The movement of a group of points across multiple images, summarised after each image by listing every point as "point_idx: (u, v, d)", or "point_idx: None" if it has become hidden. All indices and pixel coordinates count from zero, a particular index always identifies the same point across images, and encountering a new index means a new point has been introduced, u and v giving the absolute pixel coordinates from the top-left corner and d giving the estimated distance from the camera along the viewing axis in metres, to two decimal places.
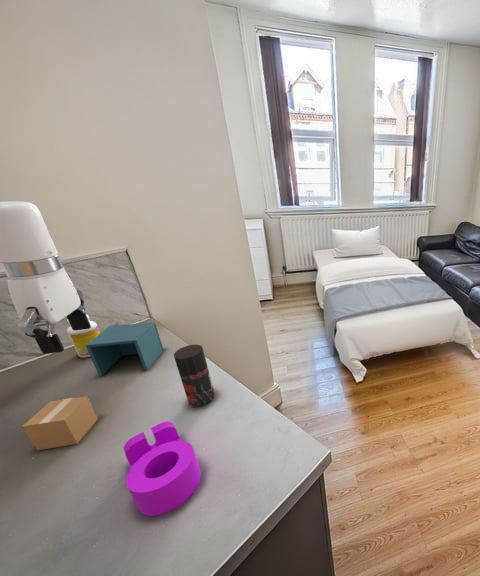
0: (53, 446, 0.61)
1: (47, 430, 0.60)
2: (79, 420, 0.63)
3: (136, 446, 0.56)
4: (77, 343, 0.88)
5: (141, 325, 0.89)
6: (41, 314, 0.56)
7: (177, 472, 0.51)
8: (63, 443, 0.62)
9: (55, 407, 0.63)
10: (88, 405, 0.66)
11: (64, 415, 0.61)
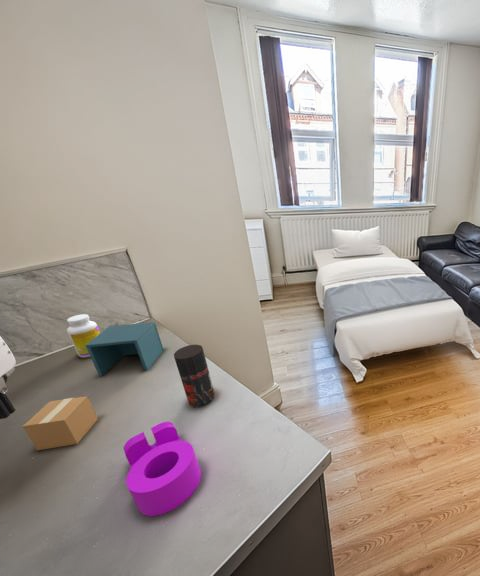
0: (53, 446, 0.61)
1: (47, 430, 0.60)
2: (79, 420, 0.63)
3: (136, 446, 0.56)
4: (77, 343, 0.88)
5: (141, 325, 0.89)
6: None
7: (177, 472, 0.51)
8: (63, 443, 0.62)
9: (55, 407, 0.63)
10: (88, 405, 0.66)
11: (64, 415, 0.61)
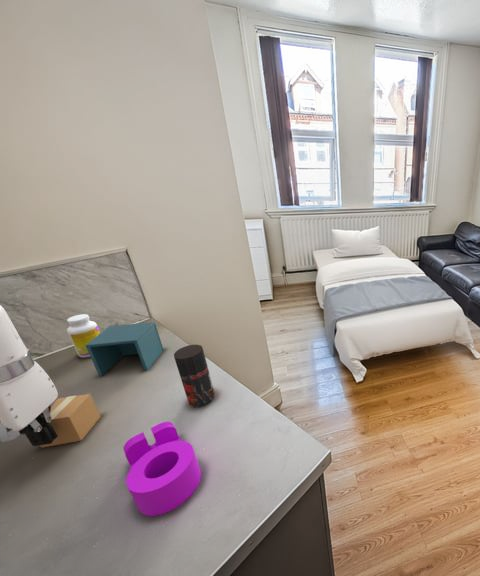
0: (57, 443, 0.62)
1: None
2: (83, 417, 0.64)
3: (136, 446, 0.56)
4: (77, 343, 0.88)
5: (141, 325, 0.89)
6: (4, 424, 0.51)
7: (177, 472, 0.51)
8: (67, 440, 0.62)
9: (59, 405, 0.63)
10: (91, 403, 0.67)
11: (68, 412, 0.62)
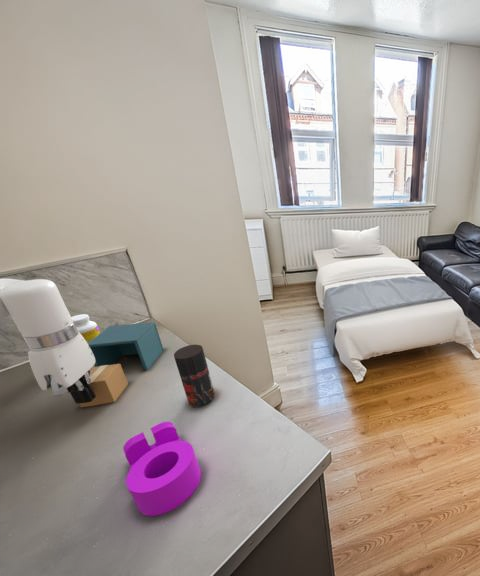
0: (94, 404, 0.72)
1: None
2: (115, 382, 0.75)
3: (136, 446, 0.56)
4: None
5: (141, 325, 0.89)
6: (56, 380, 0.61)
7: (177, 472, 0.51)
8: (103, 401, 0.73)
9: (95, 372, 0.74)
10: (121, 371, 0.77)
11: (103, 377, 0.72)
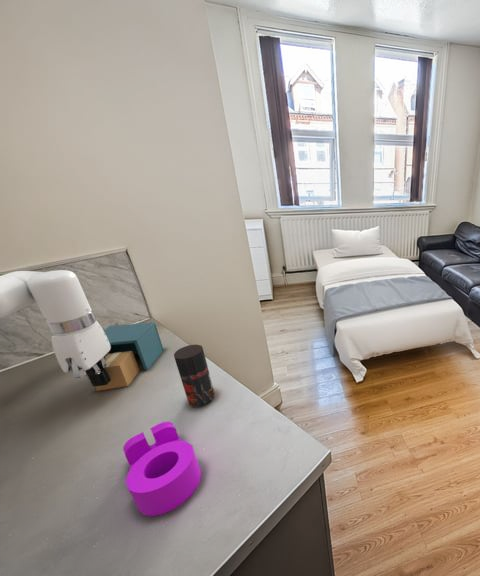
0: (109, 387, 0.78)
1: None
2: (128, 368, 0.80)
3: (136, 446, 0.56)
4: None
5: (141, 325, 0.89)
6: (77, 363, 0.66)
7: (177, 472, 0.51)
8: (117, 385, 0.78)
9: (109, 358, 0.79)
10: (133, 358, 0.83)
11: (118, 362, 0.77)
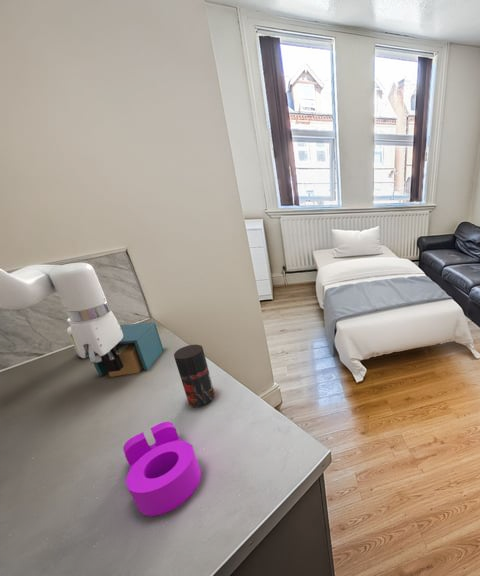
0: (121, 374, 0.83)
1: None
2: None
3: (136, 446, 0.56)
4: None
5: (141, 325, 0.89)
6: (93, 349, 0.72)
7: (177, 472, 0.51)
8: (129, 371, 0.83)
9: (122, 346, 0.84)
10: None
11: (130, 350, 0.83)
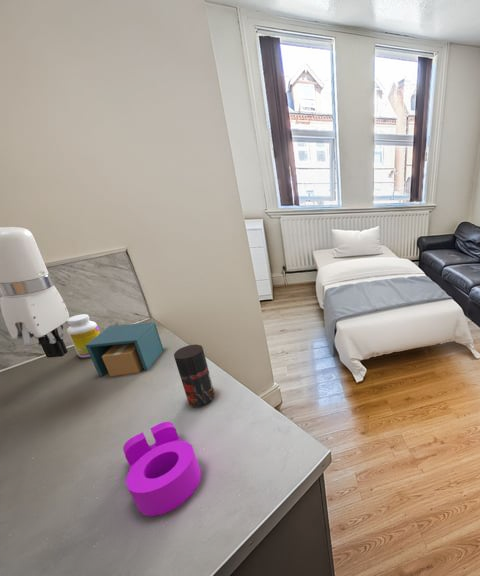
0: (121, 373, 0.83)
1: (118, 361, 0.82)
2: None
3: (136, 446, 0.56)
4: (77, 343, 0.88)
5: (141, 325, 0.89)
6: (28, 329, 0.61)
7: (177, 472, 0.51)
8: (129, 371, 0.83)
9: (122, 346, 0.84)
10: None
11: (129, 350, 0.83)
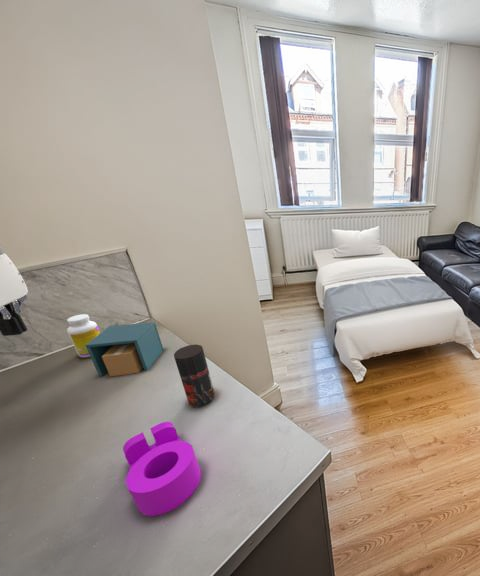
0: (121, 373, 0.83)
1: (118, 361, 0.82)
2: None
3: (135, 446, 0.56)
4: (77, 343, 0.88)
5: (141, 325, 0.89)
6: None
7: (177, 472, 0.51)
8: (129, 371, 0.83)
9: (122, 346, 0.84)
10: None
11: (129, 350, 0.83)
